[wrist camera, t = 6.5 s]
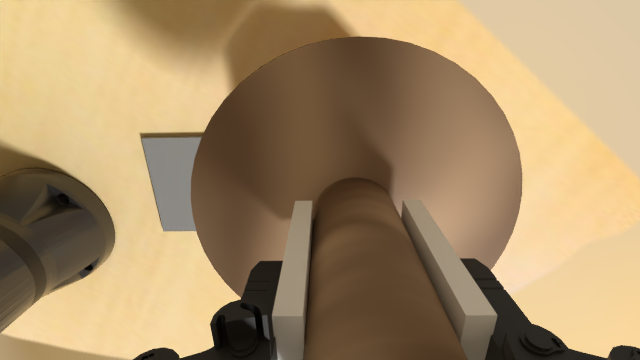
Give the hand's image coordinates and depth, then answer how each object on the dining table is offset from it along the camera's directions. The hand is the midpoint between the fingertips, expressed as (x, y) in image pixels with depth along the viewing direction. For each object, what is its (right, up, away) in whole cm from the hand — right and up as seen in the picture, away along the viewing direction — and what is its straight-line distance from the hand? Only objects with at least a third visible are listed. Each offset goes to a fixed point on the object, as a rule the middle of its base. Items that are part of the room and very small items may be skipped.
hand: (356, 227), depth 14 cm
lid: (0, +1, +2) cm, 3 cm away
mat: (-16, +2, +24) cm, 28 cm away
